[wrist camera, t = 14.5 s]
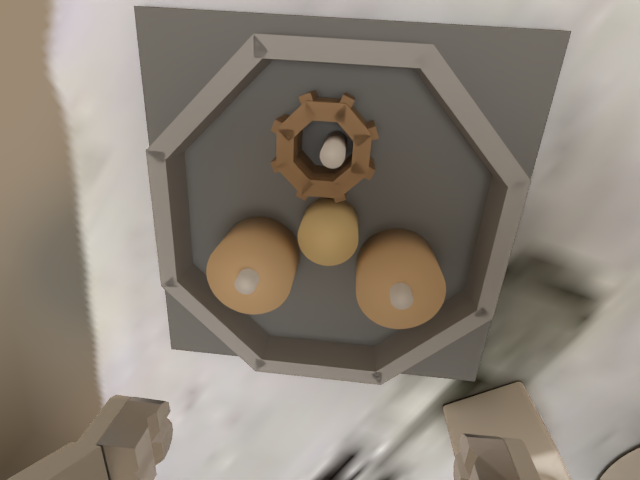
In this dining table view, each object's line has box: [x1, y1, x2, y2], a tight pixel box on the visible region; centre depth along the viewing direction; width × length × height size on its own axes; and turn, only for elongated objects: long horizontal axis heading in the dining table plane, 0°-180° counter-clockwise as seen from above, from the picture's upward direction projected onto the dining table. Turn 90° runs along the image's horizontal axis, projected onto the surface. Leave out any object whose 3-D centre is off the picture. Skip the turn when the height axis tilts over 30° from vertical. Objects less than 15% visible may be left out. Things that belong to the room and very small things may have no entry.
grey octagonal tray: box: [134, 6, 571, 385], centre depth 27 cm, size 26×26×6 cm
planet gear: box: [270, 90, 379, 203], centre depth 25 cm, size 6×6×4 cm
